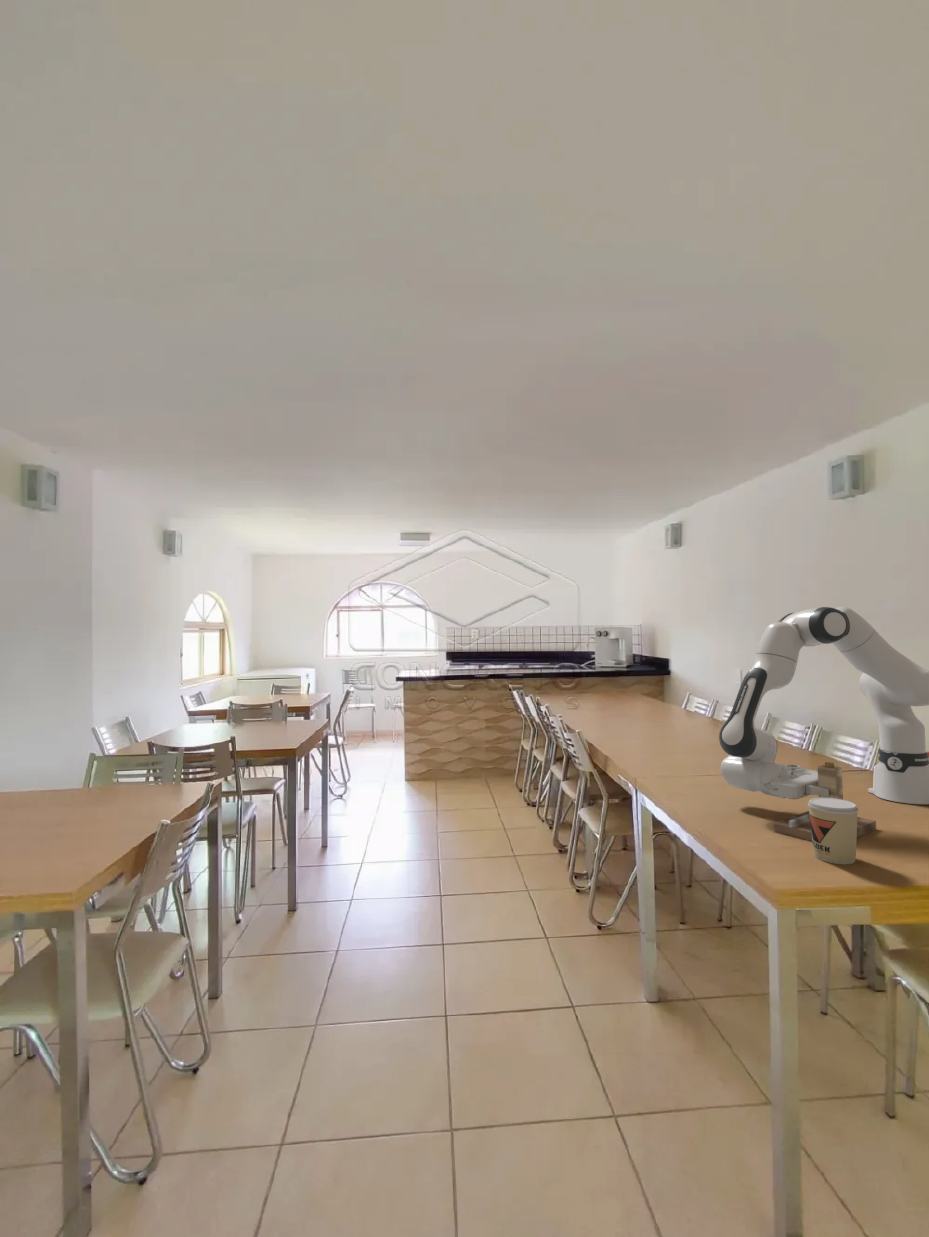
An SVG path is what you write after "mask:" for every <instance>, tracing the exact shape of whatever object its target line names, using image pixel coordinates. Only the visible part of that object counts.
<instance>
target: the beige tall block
mask: <svg viewBox="0 0 929 1237" xmlns="http://www.w3.org/2000/svg"><path fill="white" fill-rule="evenodd" d="M817 771H818V787H821V788H822V787H825V788H829V789H830V790H831V795H829V796H823V795H818V798H835V799H841V800H844V790H843V787H844V786H843V785H844V784H843V767H842V766H836V765H835V763H834V762H830V761H827V762H826V761H825V762H824V764H822V765H819V766H817Z"/></svg>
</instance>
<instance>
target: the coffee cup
mask: <svg viewBox="0 0 929 1237" xmlns="http://www.w3.org/2000/svg"><path fill="white" fill-rule="evenodd" d="M807 806H808V811H809V813H810V823H811V832H812V841H811V842H812V847H813V848H812V849H813V855H814V857H815V858H817V859H819V860H820V861H823V862H826V863H831V864H834V865H835V864H836V865H851V864H854V863H855V862H856V859H857V840H858V839H857V838H858V837H857V817H858V813H859V809H858V808H859V807H857V804H855V803H854V802H851V801H850V800H847V799H846V800H845V799H843V800H841V799H835V798H819V797H813V798H810V799H809V801H808V802H807Z"/></svg>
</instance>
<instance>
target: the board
mask: <svg viewBox="0 0 929 1237" xmlns="http://www.w3.org/2000/svg"><path fill="white" fill-rule="evenodd" d="M875 830H877V821H876V820H872V819H868V818H866V817H865V818H864V817H859V816H857V838H859V837H861V836H863V835H866V834H868V833H870V832H873V831H875ZM773 832H776V833H780V834H783V835H788V836H791V837H795V838H798V839H802V840H807V841H810V842H813V841H812V832H811V823H810V813H809V810H808V811H805V812H802V813H799V814H796V815H794V816H791V817H788V818H785V819H782V820H779V821H777V822H773Z"/></svg>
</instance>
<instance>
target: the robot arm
mask: <svg viewBox="0 0 929 1237" xmlns="http://www.w3.org/2000/svg"><path fill="white" fill-rule="evenodd" d="M828 644H833V645H834V646H835V648H836V649H837V650H838V651H839V652H840V653H841V654H842V655H843V657H845V659H846V660H848V663H850V664H851V666H853V667H854V668H855V669H856V670H857V671H859V672H861V673H862V674H861V675H860V678H859V681H858V685H859V689H860V691H861V693H862V694H863V695H864V696H865V697H866V698H867V699H868V700H869V702H870V704H871V706H872V709H873V711H874V714H875V718H876V720H877V725H878V736H879V737H878V739H879V748H878V750H877V751H878V752H877V756H878V758H877V759H878V761H879V762H878V763H877V764H875V765H874V767H873V779H872V782H873V783H872V787H869V788H867V791H868V793H870V794H872V795H875V796H876V797H878V798H880V799H883V800H887V801H891V802H897V803H903V804H910V805H911V804H912V805H929V750H928V751H927V749H926V748H927V747H926V732H925V731H926V727H925V726H924V724H923V722H922V721H921V720H920V719H919V718H917V716H916V714H915V712H914V711H913V708H912V707H925V706H927V707H928V706H929V670H928V669H926V668H924V667H922V666H920V665H919V664H917V663H916V662H914V661H913V660H911V659H909V658H908V657H907V656H906V655H903V653H901V652H899V651H898V650H897V649H895V648H894V647H893V646H891V645H890V644H889V643H888V642H887V641H886V640H885V639H884V637H883V636H882V635H880V633H879V632H878V631H876V629H875V628H874V627H873V626H872V624H870V623H869V622H868V621H867V620H866V619H865V618H864V617H862V616H861V615H860V614H858V613H857V612H856V611H854V610H853V609H852V608H850V607H847V606H838V607H828V606H820V607H816V608H815V607H814V608H807V609H803V610H801V611H796V612H791V613H788V614H786V615H784V616H783V617H781V618H780V619H779V620H778V621H776V622H772V623H770V624H768V625H767V626H766V627H765V629H764V631H763V633H762V635H761V636H760V640H759V642H758V645H757V648H756V652H755V655H754V660H753V662H752V665H751V667H750V669H749V670H748V672H747V673H746V674H745V675H744V677H743V680H742V682H741V683H740V687H739V690H738V693H737V695H736V698H735V701H734V703H733V706H732V707H731V708H732V709H731V712H730V714H729V716H728V717H727V719H726V721H725V722H724V723H723V725H722V726H721V728H720V730H719V734H718V741H719V745H720V747H721V748H722V750H723V751H724V752H725V753H726V754H728V756H727V757H724V759H723V760H722V761H721V764H720V773H721V775H722V778H723V780H724V781H725V782H726V783H727V784H728V785H730V786H732V787H734V788H736V789H737V788H738V789H740V790H744V791H748V792H751V793H752V792H760V793H762V794H764V795H768V796H772V797H777V798H782V799H788V800H789V799H790V800H800V799H803V798H806V797H808V796H819V795H823V796H829V795H831V790H830V789H829V788H825V787H822V788H821V787H818V770H815V769H814V770H813V769H808V768H802V766H801V765H796V764H790V765H789V764H781V763H776V762H775V759H776V757H777V754H778V753H777V752H778V742H777V739H776V738H775V736H774V735H773V734H771V733H770V732H768V731H766V730H764V729H762V728H760V727H757V726H755V719H756V717H757V713H758V710H759V709H760V708H759V707H760V704H761V702H762V700H763V698H764V696H765V695H766V694H767V693H768V692H770V691H773V690H780V689H782V688H784V687H787V686H788V685H789V684H790V683H791V682H792V680H793V678H794V676H795V673H796V670H797V664H798V661H799V656H800V655H799V654H800V651H801V649H802V648H803V647H815V646H820V645H828Z"/></svg>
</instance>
